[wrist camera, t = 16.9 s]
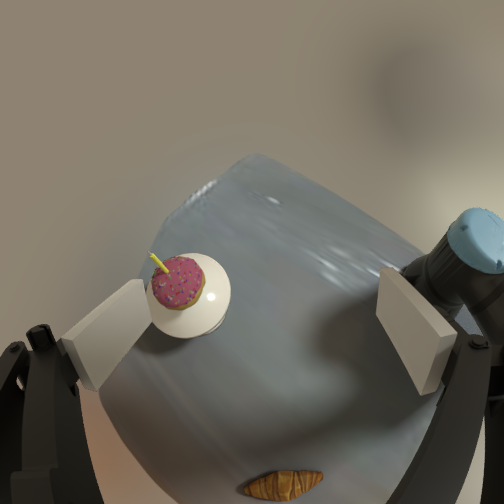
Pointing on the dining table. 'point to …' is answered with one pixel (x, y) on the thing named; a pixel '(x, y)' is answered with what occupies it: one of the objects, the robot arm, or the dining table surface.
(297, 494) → the croissant
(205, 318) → the cake stand
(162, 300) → the cupcake
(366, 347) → the dining table surface
